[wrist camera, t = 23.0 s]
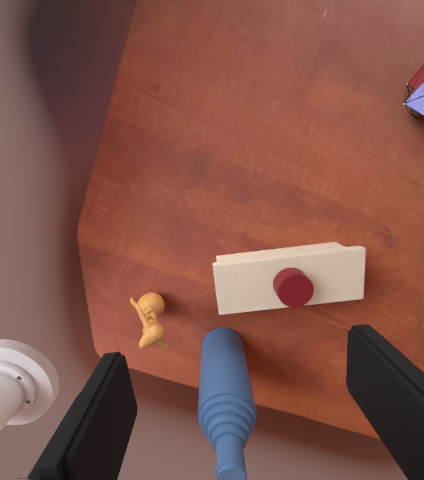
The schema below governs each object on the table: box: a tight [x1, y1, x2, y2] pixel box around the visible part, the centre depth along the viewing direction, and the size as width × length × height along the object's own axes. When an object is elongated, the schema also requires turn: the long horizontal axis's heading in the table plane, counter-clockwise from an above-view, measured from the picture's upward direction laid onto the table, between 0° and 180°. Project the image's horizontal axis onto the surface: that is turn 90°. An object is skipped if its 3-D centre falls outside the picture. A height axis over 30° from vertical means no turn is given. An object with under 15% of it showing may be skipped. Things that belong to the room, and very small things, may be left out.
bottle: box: [198, 328, 257, 480], centre depth 30 cm, size 7×7×18 cm
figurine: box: [130, 293, 169, 350], centre depth 31 cm, size 8×6×12 cm
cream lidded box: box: [213, 242, 366, 315], centre depth 33 cm, size 19×7×6 cm, turn 97°
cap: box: [273, 268, 314, 307], centre depth 29 cm, size 4×4×2 cm
